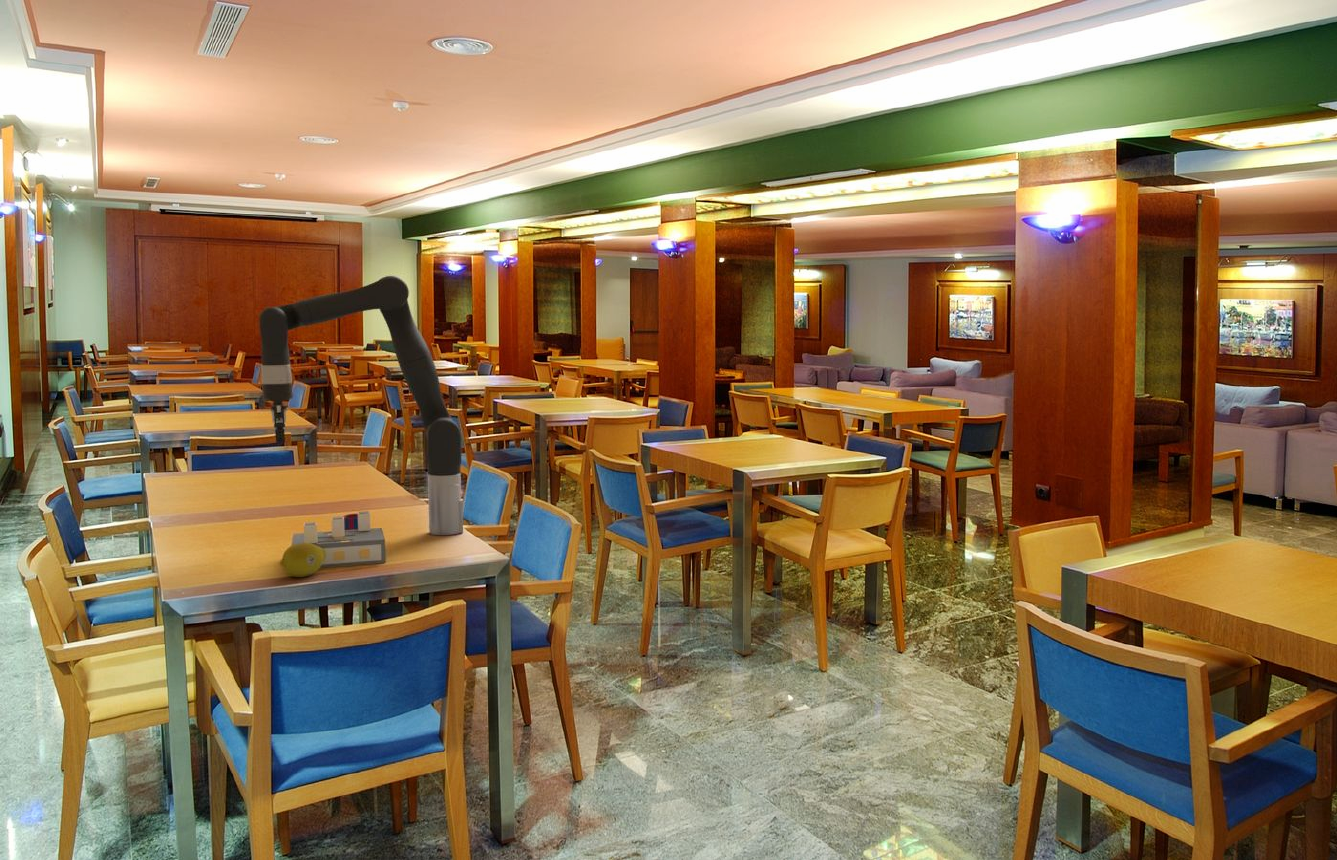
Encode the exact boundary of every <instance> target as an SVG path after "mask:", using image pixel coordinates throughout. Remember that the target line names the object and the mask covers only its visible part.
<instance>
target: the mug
mask: <svg viewBox="0 0 1337 860" xmlns="http://www.w3.org/2000/svg"><path fill="white" fill-rule="evenodd" d="M343 517H344V530H357V529H358V513H350V514H345V515H343Z"/></svg>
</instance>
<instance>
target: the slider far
mask: <svg viewBox="0 0 1337 860" xmlns="http://www.w3.org/2000/svg"><path fill="white" fill-rule="evenodd" d="M357 514H358V531H370V529H371V512H370V511H369V510H363V511H357Z"/></svg>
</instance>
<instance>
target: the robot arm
mask: <svg viewBox="0 0 1337 860" xmlns="http://www.w3.org/2000/svg"><path fill="white" fill-rule="evenodd" d="M409 294H410V290H409V287H408V285H407V283H406V282H405V281H404V280H403V279H402V278H400V277H398V276H394V275H386V276H384V277H382V278H380V279H378V280H376V281H375V282H372V283H369V284H367V285H364V286H361V287H357V288H353V289H350V290H347V291H345V290H344V291H340V292H333V293H329V294H324V295H318V296H315V297H309V298H305V299H302V300H299V301H296V302H294V303H289V304H283V305H278V306H269V307H266V308H264V310H262V311H261V312H260V315H259V316H258V317H259V318H258V323H259V326H258V327H259V333H260V341H261V350H260V351H261V353H260V354H261V355H260V356H261V389H262V391H261V392H262V399H263V400H264V401H272V406H271V405H270V414H271V419H272V423H273V429H274V430H275V431H274V432H275V434H274V435H275V443H276V444H284V443H285V442H286V437H285V428H286V424H285V423H286V422H287V405H284V401H286V400H292V399H293V398H294V395H293V394H294V393H293V392H294V391H293V379H292V378H293V376H292V374H293V373H292V369H291V361H290V359H291V357H290V349H289V343H288V339H289V338H288V337H289V336H288V331H289V330H294V329H298V328H300V327H309V326H313V325H317V324H321V323H327V322H330V321H333V320H338V319H339V318H343V317H346V316H349V315H353V314H357V313H360V312H365V311H366V312H367V311H372V310H379V311H380V313H381V314H382V317H383V319H384V321H385V324H386V325H387V328H388V331H389V334H390V339H391V342H392V346H393V349H394V352H395V357H396V358H397V362H398V365H399V367H400V370H401V373H402V375H403V378H404V380H405V382H406V385H407V387H408V390H409V391H410V394H411V395H412V397H413V400H414V401H415V403H416V405H417V408H418V410H419V413H420V417H421V421H422V424H423V425H422V426H423V429H424V433H425V438H426V440H427V450H428V452H427V454H428V455H427V456H428V457H427V458H428V460H427V492H428V493H427V497H428V499H427V501H428V530H429V534H431V535H433V536H434V535H435V536H452V535H457V534H463V533H464V515H463V514H464V511H463V509H464V508H463V500H462V481H461V480H462V479H461V474H462V473H461V471H462V469H461V468H462V466H461V465H462V433H461V429H460V427H459V426H458V424H457V423H456V422H455V421H454V420H453V419H452V416H451V415H450V413H449V410H448V408H447V406H446V403H445V401H444V398H443V396H442V390H441V385H440V379H439V376H438V371H437V367H436V365H435V361H434V359H433V357H432V354H431V351H430V349H429V347H428V344H427V343H426V340H425V338H424V337H423V335H422V334H421V332H420V331H419V329H418V327H417V325H416V322H415V321H414V319H413V316H412V311H411V308H410V305H409V302H408V299H409V296H410V295H409Z"/></svg>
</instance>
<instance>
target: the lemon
mask: <svg viewBox="0 0 1337 860" xmlns="http://www.w3.org/2000/svg"><path fill="white" fill-rule="evenodd" d="M325 557H326V551H325V550H324V549H323V548H320V547H318V546H316V545H314V544H310V543H299V544H295V545H293V546H289V547H287V549H285V551H284V553H283V555H282V559H281V560H280V562H279V564H280V566H281V567H283V570H284V572H286V574H287V575H289V576H290V577H294V578H305V577H308V576H310V575H311V576H312V574H314V573H316V572H317V571H318V570H319V569H321V568H320V566H321V565H322V562H323V561H324V560H325Z"/></svg>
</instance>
